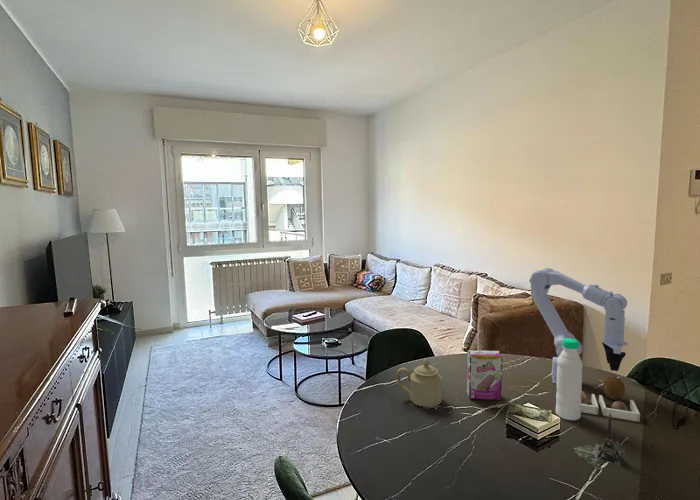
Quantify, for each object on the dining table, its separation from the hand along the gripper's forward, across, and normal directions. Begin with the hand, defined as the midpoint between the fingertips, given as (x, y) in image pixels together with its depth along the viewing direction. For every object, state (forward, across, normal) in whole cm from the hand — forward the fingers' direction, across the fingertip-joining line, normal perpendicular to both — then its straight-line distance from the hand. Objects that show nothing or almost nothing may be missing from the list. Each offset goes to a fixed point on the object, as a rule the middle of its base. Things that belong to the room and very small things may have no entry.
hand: (612, 366), depth 141 cm
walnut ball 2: (+10, -15, 0) cm, 18 cm away
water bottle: (+10, -22, +15) cm, 29 cm away
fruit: (+10, -4, 0) cm, 11 cm away
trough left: (+10, -14, +11) cm, 20 cm away
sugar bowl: (+10, -30, +61) cm, 69 cm away
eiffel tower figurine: (+11, -42, +7) cm, 43 cm away
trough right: (+10, -14, 0) cm, 17 cm away
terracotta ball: (+10, -10, +11) cm, 18 cm away
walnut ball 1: (+10, -15, +11) cm, 21 cm away
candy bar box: (+10, -20, +41) cm, 47 cm away
